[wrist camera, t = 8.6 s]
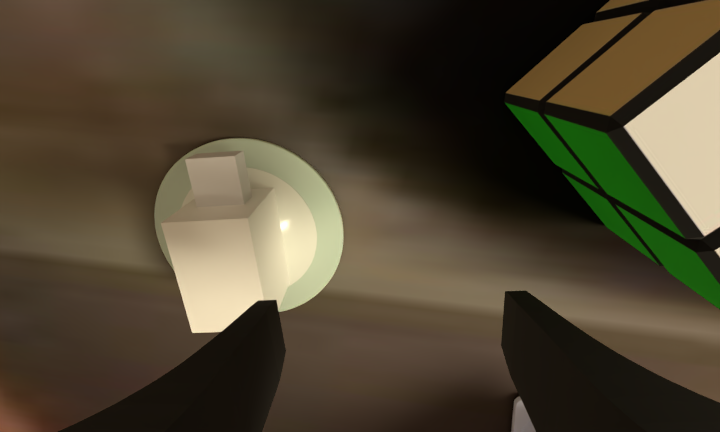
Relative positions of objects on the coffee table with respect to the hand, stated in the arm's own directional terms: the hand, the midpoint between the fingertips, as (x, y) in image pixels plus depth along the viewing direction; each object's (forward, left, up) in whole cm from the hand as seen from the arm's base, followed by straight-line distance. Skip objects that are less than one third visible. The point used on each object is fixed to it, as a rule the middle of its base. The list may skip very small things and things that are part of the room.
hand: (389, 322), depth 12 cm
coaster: (+8, +1, -10) cm, 13 cm away
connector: (+8, 0, -10) cm, 13 cm away
